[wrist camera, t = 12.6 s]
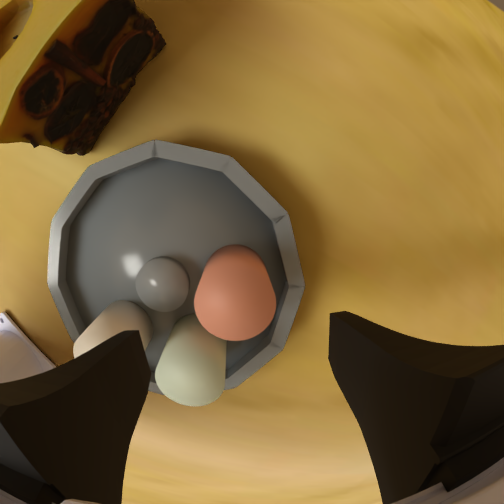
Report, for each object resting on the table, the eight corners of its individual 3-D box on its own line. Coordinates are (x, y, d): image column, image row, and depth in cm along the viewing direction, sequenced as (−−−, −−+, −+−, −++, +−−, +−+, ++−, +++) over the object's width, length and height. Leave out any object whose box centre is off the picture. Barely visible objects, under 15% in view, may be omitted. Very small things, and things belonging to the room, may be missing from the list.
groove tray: (185, 409, 23) (182, 426, 20) (33, 274, 19) (18, 282, 17) (342, 274, 20) (353, 284, 18) (165, 97, 17) (157, 88, 15)
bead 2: (278, 280, 19) (291, 311, 14) (229, 314, 20) (228, 353, 15) (241, 231, 18) (243, 248, 14) (191, 268, 19) (177, 297, 14)
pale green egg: (201, 370, 21) (194, 415, 16) (160, 337, 20) (141, 378, 15) (238, 338, 20) (239, 382, 15) (195, 302, 19) (184, 339, 14)
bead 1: (102, 340, 20) (75, 376, 15) (104, 293, 19) (71, 324, 14) (150, 354, 20) (131, 396, 15) (155, 308, 19) (134, 344, 14)
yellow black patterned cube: (169, 44, 16) (128, -40, 6) (89, 160, 18) (-7, 151, 8) (82, 10, 14) (25, -46, 5) (16, 109, 16) (-66, 91, 6)
